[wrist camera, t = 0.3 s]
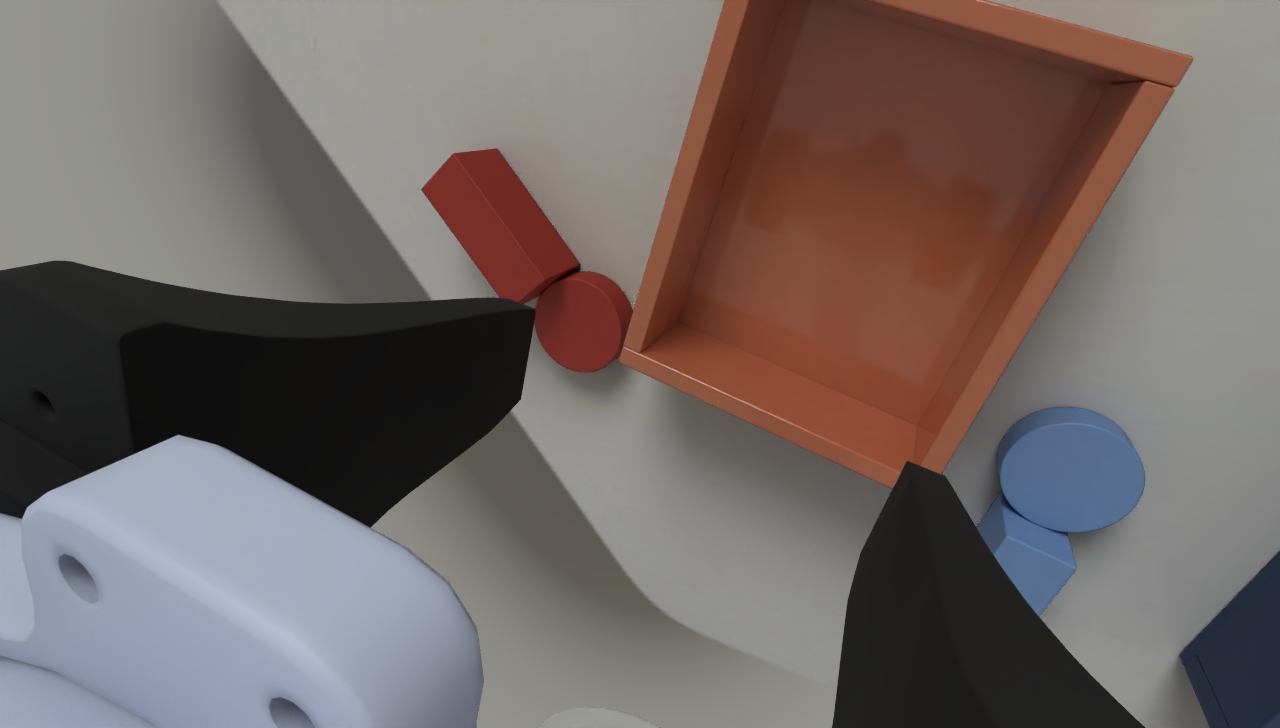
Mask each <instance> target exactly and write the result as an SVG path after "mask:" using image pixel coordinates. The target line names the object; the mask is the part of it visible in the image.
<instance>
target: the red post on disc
mask: <svg viewBox="0 0 1280 728" xmlns="http://www.w3.org/2000/svg"><path fill="white" fill-rule="evenodd" d="M421 190H422V191H423V193H424V194H425V196H426V197H427V198H428V200H429V201H430V202H431V204H432V205H433V207H434V208H435V209H436V211H437V212H438V213H439V215H440V216H441V218H442V219H443V220H444V222H445V223H446V224H447V226H448V227H449V229H450V230H451V231H452V233H453V234H454V235H455V237H456V238H457V240H458V241H459V242H460V244H461V245H462V246H463V248H464V249H465V251H466V252H467V253H468V255H469V256H470V257H471V259H472V260H473V262H474V263H475V264H476V266H477V267H478V268H479V270H480V271H481V272H482V274H483V275H484V277H485V278H486V279H487V281H488V282H489V283H490V285H491V286H492V288H493V289H494V290H495V292H496V293H497V294H498V296H499V297H500V298H505V299H511V300H514V301H516V302H519V303H521V304H524V303H526V302H528V301H530V300H532V299H534V298H536V297H538V296H540V297H539V299H538V301H537V304H536V308H535V309H536V314H535V328H536V332H537V335H538V338H539V340H540V342H541V344H542V346H543V348H544V349H545V351H546V352H547V353H548V354H549V355H550V356H551V357H552V358H553V359H554V360H555V361H556V362H557V363H559V364H560V365H562V366H563V367H565V368H567V369H570V370H573V371H577V372H585V373H586V372H594V371H598V370H600V369H602V368H604V367H606V366H607V365H608V364H610V363H611V362H612V361H614V360H615V359H616V358H617V357H619V356H620V355H621V352H622V348H623V347H624V341H625V338H626V334H627V331H628V327H629V324H630V321H631V317H632V314H633V311H632V308H631V305H630V302H629V300H628V298H627V297H626V295H625V294H624V292H623V291H622V290H621V288H620V287H619V286H618V285H617V284H616V283H614V282H613V281H612V280H610V279H609V278H607V277H605V276H603V275H601V274H598V273H595V272H589V271H582V272H576V273H573V274H570V273H571V272H572V271H573V270H574V269H576V268H577V267H578V266H579V265H580V263H579V262H578V260H577V259H576V257H575V256H574V255H573V253H572V252H571V250H570V249H569V248H568V246H567V245H566V244H565V242H564V241H563V239H562V238H561V237H560V235H559V234H558V232H557V231H556V230H555V228H554V227H553V225H552V224H551V223H550V221H549V220H548V218H547V217H546V216H545V214H544V213H543V211H542V210H541V209H540V207H539V206H538V204H537V203H536V202H535V200H534V199H533V198H532V196H531V195H530V193H529V192H528V191H527V189H526V188H525V186H524V185H523V184H522V182H521V181H520V179H519V178H518V177H517V175H516V174H515V172H514V171H513V170H512V168H511V167H510V165H509V164H508V163H507V161H506V160H505V158H504V157H503V156H502V154H501V153H500V151H499V150H498V149H489V150H479V151H470V152H461V153H453V154H452V155H451V156H450V158H449V159H448V160H447V161H446V162H445V163H444V164H443V165H442V167H441V168H440V169H439V170H438V171H437V172H436V173H435V174H434V176H433V177H432V178H431V179H430V180H429V181H428V182H427V183H426V185H425V186H424V187H423V188H422V189H421ZM568 274H570V275H568ZM567 275H568V276H567Z"/></svg>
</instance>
